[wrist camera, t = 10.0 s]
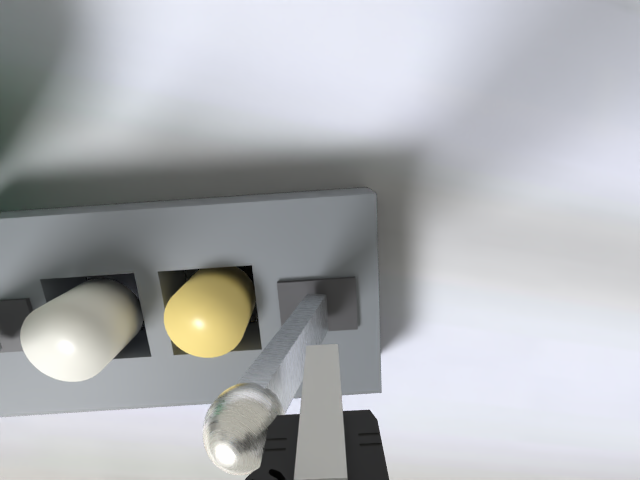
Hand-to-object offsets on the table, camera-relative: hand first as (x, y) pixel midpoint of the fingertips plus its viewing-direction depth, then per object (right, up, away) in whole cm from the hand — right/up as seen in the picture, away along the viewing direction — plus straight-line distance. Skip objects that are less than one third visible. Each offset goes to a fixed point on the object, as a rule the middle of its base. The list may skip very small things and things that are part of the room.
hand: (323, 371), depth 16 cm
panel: (-10, +2, +11) cm, 15 cm away
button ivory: (-15, +1, +7) cm, 16 cm away
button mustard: (-7, +2, +8) cm, 11 cm away
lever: (0, +2, +6) cm, 6 cm away
